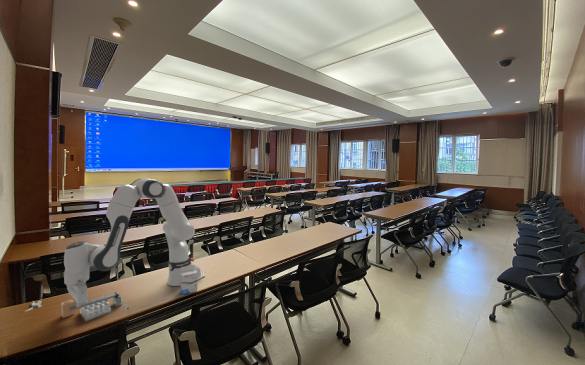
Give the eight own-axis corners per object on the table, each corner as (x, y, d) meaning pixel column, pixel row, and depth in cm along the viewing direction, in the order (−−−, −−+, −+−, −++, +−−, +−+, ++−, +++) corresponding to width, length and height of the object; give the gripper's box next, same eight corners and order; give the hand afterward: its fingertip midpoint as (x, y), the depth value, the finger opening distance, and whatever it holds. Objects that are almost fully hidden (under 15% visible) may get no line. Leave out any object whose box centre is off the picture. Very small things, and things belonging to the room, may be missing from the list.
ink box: (182, 295, 142) (181, 270, 141) (180, 291, 146) (180, 267, 145) (197, 291, 147) (197, 267, 146) (195, 287, 151) (195, 264, 150)
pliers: (17, 317, 118) (23, 303, 130) (18, 320, 118) (23, 306, 130) (47, 309, 125) (49, 297, 136) (47, 312, 125) (49, 300, 136)
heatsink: (116, 300, 134) (116, 291, 134) (123, 307, 128) (122, 298, 128) (80, 313, 122) (79, 303, 122) (85, 321, 116) (85, 311, 116)
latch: (72, 311, 123) (72, 297, 123) (75, 316, 119) (75, 301, 119) (61, 315, 120) (61, 300, 120) (64, 320, 116) (63, 305, 116)
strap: (116, 294, 131) (116, 291, 131) (119, 296, 129) (119, 294, 129) (68, 308, 116) (68, 306, 116) (70, 311, 114) (70, 309, 114)
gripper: (91, 281, 113) (92, 311, 113) (80, 269, 125) (80, 296, 126) (73, 286, 108) (74, 317, 109) (63, 273, 120) (63, 301, 121)
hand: (77, 306), depth 117 cm, fingers closed, pressing on strap
